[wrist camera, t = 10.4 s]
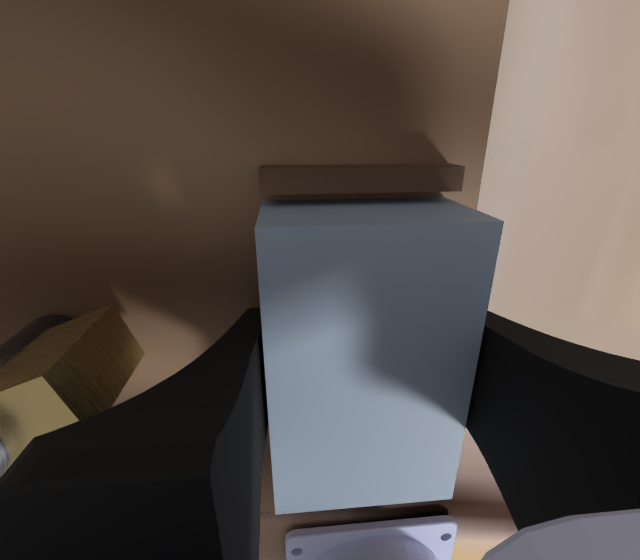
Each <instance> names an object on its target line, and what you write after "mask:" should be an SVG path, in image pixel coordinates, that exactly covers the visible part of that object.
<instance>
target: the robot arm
mask: <svg viewBox="0 0 640 560" xmlns="http://www.w3.org/2000/svg"><path fill="white" fill-rule="evenodd" d="M268 423H269V421H268V407H267V394H266V380H265V366H264V352H263V338H262V324H261V311H260V307H257V308H248V309H247V310H246V311H245V312H244V313H243V314H242V315H241V316H240V318H239V319H238V320H237V321H236V322H235V323H234V324H233V325H232V326H231V327H230V328H229V329H228V330H227V331H226V332H225V333H224V334H223V335H222V336H221V337H220V338H219V339H218V340H217V341H216V342H215V343H214V344H213V345H212V346H211V347H209V348H208V349H207V350H206V351H205V352H204V353H203V354H201V355H200V356H199V357H198V358H196V359H195V360H194V361H192V362H191V363H189V364H188V365H187V366H185V367H184V368H182V369H181V370H179V371H178V372H176V373H175V374H173V375H172V376H170V377H168V378H167V379H165V380H163V381H161V382H160V383H158V384H156V385H155V386H153V387H151V388H149V389H148V390H146V391H144V392H142V393H140V394H139V395H137V396H135V397H132V398H130V399H128V400H126V401H124V402H122V403H120V404H118V405H116V406H114V407H111V408H109V409H107V410H105V411H102V412H100V413H98V414H95V415H93V416H91V417H88V418H85V419H83V420H80V421H77V422H75V423H72V424H70V425H67V426H64V427H62V428H59V429H56V430H54V431H51V432H48V433H45V434H43V435H40V436H37V437H34V438H33V439H32V440H31V441H30V443H29V444H28V445H27V446H26V447H25V448H24V450H23V451H22V452H21V453H20V455H19V456H18V457H17V458H16V459H15V461H14V462H13V463H12V464H11V466H10V467H9V468H8V469H7V470H6V472H5V473H4V474H3V475H2V477H1V478H0V560H259V533H260V505H261V480H262V468H263V458H264V451H265V444H266V437H267V430H268ZM466 428H467V429H468V431H469V432H470V434H471V436H472V437H473V439H474V440H475V442H476V444H477V446H478V447H479V449H480V451H481V453H482V454H483V456H484V458H485V460H486V462H487V464H488V466H489V468H490V470H491V472H492V475H493V477H494V479H495V481H496V483H497V485H498V487H499V489H500V491H501V493H502V496H503V498H504V500H505V502H506V505H507V507H508V509H509V511H510V514H511V516H512V518H513V520H514V523H515V525H516V527H517V529H518V532H517V533H515V534H514V535H512V536H511V537H509V538H508V539H506V540H505V541H503V542H502V543H500V544H499V545H497V546H496V547H494V548H492V549H491V550H489V551H488V552H486V553H485V555H484V557H483V558H482V560H640V361H639V360H634V359H630V358H626V357H622V356H617V355H613V354H609V353H605V352H602V351H598V350H594V349H591V348H588V347H584V346H581V345H578V344H574V343H571V342H568V341H565V340H562V339H559V338H556V337H553V336H550V335H547V334H545V333H542V332H539V331H536V330H534V329H531V328H528V327H526V326H523V325H521V324H518V323H516V322H513V321H511V320H509V319H506V318H504V317H501V316H499V315H497V314H494V313H492V312H489V311H487V314H486V319H485V325H484V330H483V336H482V341H481V346H480V352H479V357H478V362H477V368H476V373H475V378H474V384H473V389H472V394H471V400H470V405H469V411H468V416H467V421H466ZM456 531H457V524H456V522H455V520H454V518H453V517H452V516H449V515H440V516H430V517H419V518H408V519H398V520H387V521H377V522H366V523H356V524H345V525H334V526H324V527H313V528H303V529H294V530H291V531H290V532H288V533H287V534H286V537H285V547H286V560H451V556H452V551H453V546H454V541H455V536H456Z"/></svg>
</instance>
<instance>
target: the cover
mask: <svg viewBox="0 0 640 560" xmlns="http://www.w3.org/2000/svg"><path fill="white" fill-rule="evenodd" d="M503 223H504V221H502V220H499V219H497V218H494V217H492V216H489V215H487V214H485V213H482V212H480V211H477V210H475V209H472V208H470V207H467V206H465V205H463V204H460V203H458V202H455V201H453V200H450V199H448V198H446V197H414V198H364V199H313V200H263V201H262V204H261V208H260V211H259V215H258V218H257V221H256V225H255V241H256V255H257V269H258V283H259V297H260V311H261V324H262V338H263V352H264V366H265V380H266V394H267V407H268V421H269V435H270V449H271V463H272V477H273V490H274V504H275V515H279V514H290V513H301V512H312V511H323V510H334V509H345V508H356V507H367V506H378V505H389V504H400V503H411V502H422V501H433V500H444V499H452V496H453V491H454V486H455V480H456V475H457V469H458V464H459V459H460V453H461V448H462V443H463V437H464V432H465V427H466V421H467V416H468V411H469V405H470V400H471V394H472V389H473V384H474V378H475V373H476V368H477V362H478V357H479V352H480V346H481V341H482V336H483V330H484V325H485V319H486V314H487V309H488V303H489V298H490V293H491V287H492V282H493V277H494V271H495V266H496V261H497V255H498V250H499V244H500V239H501V234H502V228H503Z"/></svg>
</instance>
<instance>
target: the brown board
mask: <svg viewBox="0 0 640 560" xmlns="http://www.w3.org/2000/svg"><path fill="white" fill-rule="evenodd" d="M508 6H509V0H0V345H1V344H3V343H4V342H5V341H7V340H8V339H9V338H11V337H12V336H13V335H14V334H16V333H17V332H18V331H20V330H21V329H22V328H24V327H25V326H26V325H28V324H29V323H30V322H32V321H33V320H35V319H36V318H39V317H41V316H45V315H63V316H67V317H70V318H73V319H76V318H78V317H81V316H84V315H86V314H89V313H91V312H94V311H97V310H99V309H102V308H104V307H107V306H110V305H112V304H113V306H114V307H115V309H116V310H117V312H118V313H119V315H120V316H121V318H122V319H123V321H124V322H125V323H126V325H127V326H128V328H129V329H130V331H131V332H132V334H133V335H134V337H135V338H136V340H137V341H138V343H139V344H140V346H141V347H142V349H143V350H144V352H145V354H144V356H143V357H142V359H141V361H140V362H139V364H138V365H137V367H136V369H135V370H134V372H133V374H132V375H131V377H130V378H129V380H128V382H127V383H126V385H125V386H124V388H123V390H122V391H121V393H120V394H119V396H118V398H117V399H116V401H115V402H114V404H113V406H112V407H114V406H116V405H118V404H120V403H122V402H124V401H126V400H128V399H130V398H132V397H135V396H137V395H139V394H140V393H142V392H144V391H146V390H148V389H149V388H151V387H153V386H155V385H156V384H158V383H160V382H161V381H163V380H165V379H167V378H168V377H170V376H172V375H173V374H175V373H176V372H178V371H179V370H181V369H182V368H184V367H185V366H187V365H188V364H189V363H191V362H192V361H194V360H195V359H196V358H198V357H199V356H200V355H201V354H203V353H204V352H205V351H206V350H207V349H208V348H209V347H211V346H212V345H213V344H214V343H215V342H216V341H217V340H218V339H219V338H220V337H221V336H222V335H223V334H224V333H225V332H226V331H227V330H228V329H229V328H230V327H231V326H232V325H233V324H234V323H235V322H236V321H237V320H238V319H239V318H240V316H241V315H242V314H243V313H244V312H245V311H246V310H247V309H248V308H257V307H260V297H259V283H258V269H257V255H256V241H255V225H256V221H257V218H258V215H259V211H260V208H261V204H262V201H263V200H313V199H364V198H414V197H446V198H448V199H450V200H453V201H455V202H458V203H460V204H463V205H465V206H467V207H470V208H472V209H475V210H477V204H478V197H479V191H480V184H481V178H482V172H483V165H484V159H485V152H486V146H487V140H488V133H489V127H490V121H491V114H492V108H493V101H494V95H495V89H496V82H497V76H498V69H499V63H500V57H501V50H502V44H503V37H504V31H505V25H506V18H507V12H508ZM267 512H275V504H274V490H273V477H272V463H271V449H270V435H269V423H268V430H267V437H266V444H265V451H264V458H263V468H262V480H261V505H260V513H267Z"/></svg>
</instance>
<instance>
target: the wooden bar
mask: <svg viewBox="0 0 640 560" xmlns="http://www.w3.org/2000/svg"><path fill="white" fill-rule="evenodd" d="M144 354H145V352H144V350H143V349H142V347H141V346H140V344H139V343H138V341H137V340H136V338H135V337H134V335H133V334H132V332H131V331H130V329H129V328H128V326H127V325H126V323H125V322H124V321H123V319H122V318H121V316H120V315H119V313H118V312H117V310H116V309H115V307H114V306H113V304H112V305H110V306H107V307H104V308H102V309H99V310H97V311H94V312H91V313H89V314H86V315H84V316H81V317H78V318H76V319H73V318H70V317H67V316H63V315H45V316H41V317H39V318H36V319H35V320H33V321H32V322H30V323H29V324H28V325H26V326H25V327H24V328H22V329H21V330H20V331H18V332H17V333H16V334H14V335H13V336H12V337H11V338H9V339H8V340H7V341H5V342H4V343H3V344H1V345H0V478H1V477H2V475H3V474H4V473H5V472H6V470H7V469H8V468H9V467H10V466H11V464H12V463H13V462H14V461H15V459H16V458H17V457H18V456H19V455H20V453H21V452H22V451H23V450H24V448H25V447H26V446H27V445H28V444H29V443H30V441H31V440H32V439H33V438H34V437H37V436H40V435H43V434H45V433H48V432H51V431H54V430H56V429H59V428H62V427H64V426H67V425H70V424H72V423H75V422H77V421H80V420H83V419H85V418H88V417H91V416H93V415H95V414H98V413H100V412H102V411H105V410H107V409H109V408H111V407H112V406H113V404H114V402H115V401H116V399H117V398H118V396H119V394H120V393H121V391H122V390H123V388H124V386H125V385H126V383H127V382H128V380H129V378H130V377H131V375H132V374H133V372H134V370H135V369H136V367H137V365H138V364H139V362H140V361H141V359H142V357H143V356H144Z"/></svg>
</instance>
